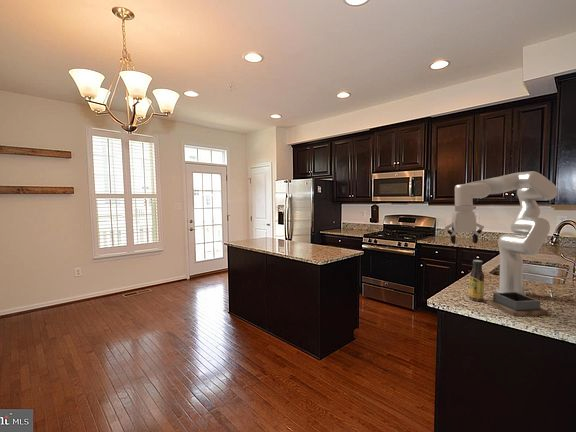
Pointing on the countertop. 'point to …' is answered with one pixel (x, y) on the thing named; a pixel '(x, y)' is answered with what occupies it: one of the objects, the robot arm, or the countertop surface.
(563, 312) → the countertop surface
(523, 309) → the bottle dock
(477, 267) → the sauce bottle
